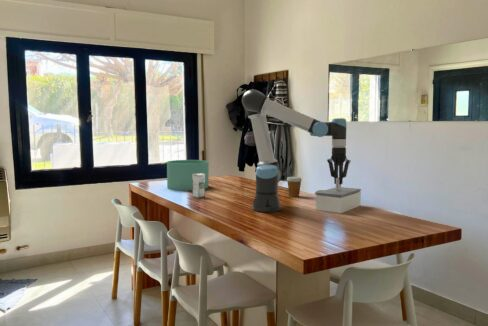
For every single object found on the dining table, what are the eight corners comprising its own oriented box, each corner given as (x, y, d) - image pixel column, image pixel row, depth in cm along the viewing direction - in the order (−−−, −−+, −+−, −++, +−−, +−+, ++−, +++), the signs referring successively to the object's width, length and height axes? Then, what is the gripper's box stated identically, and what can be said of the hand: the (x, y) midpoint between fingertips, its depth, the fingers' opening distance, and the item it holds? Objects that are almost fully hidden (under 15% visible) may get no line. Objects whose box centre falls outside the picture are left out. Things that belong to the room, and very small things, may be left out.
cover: (340, 197, 210) (340, 194, 210) (316, 194, 218) (316, 192, 218) (360, 191, 230) (360, 188, 230) (337, 188, 239) (337, 186, 239)
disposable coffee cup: (301, 197, 255) (301, 178, 254) (285, 197, 257) (286, 178, 256) (301, 195, 264) (302, 176, 263) (287, 194, 266) (287, 176, 265)
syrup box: (198, 195, 261) (198, 172, 259) (205, 196, 257) (205, 173, 256) (192, 196, 256) (191, 173, 255) (198, 197, 253) (198, 174, 251)
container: (164, 185, 306) (164, 160, 304) (203, 183, 315) (203, 159, 313) (170, 191, 278) (169, 163, 276) (212, 189, 287) (212, 163, 285)
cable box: (340, 213, 210) (340, 197, 210) (316, 209, 219) (316, 194, 218) (360, 205, 231) (360, 191, 230) (337, 202, 239) (337, 189, 239)
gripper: (353, 147, 221) (352, 190, 223) (330, 146, 229) (330, 188, 231) (347, 147, 215) (347, 192, 217) (324, 146, 224) (324, 189, 226)
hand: (338, 190), depth 224 cm, fingers closed
